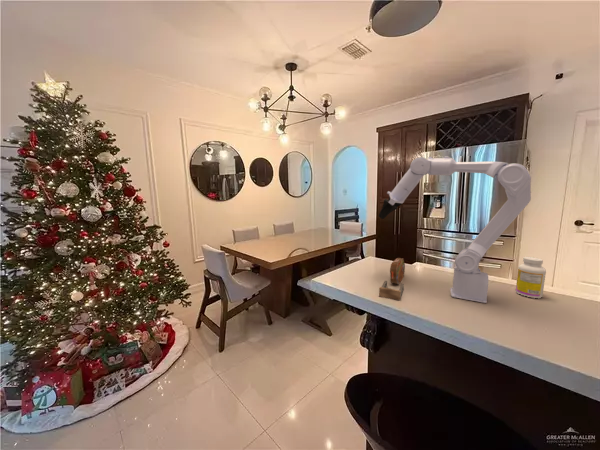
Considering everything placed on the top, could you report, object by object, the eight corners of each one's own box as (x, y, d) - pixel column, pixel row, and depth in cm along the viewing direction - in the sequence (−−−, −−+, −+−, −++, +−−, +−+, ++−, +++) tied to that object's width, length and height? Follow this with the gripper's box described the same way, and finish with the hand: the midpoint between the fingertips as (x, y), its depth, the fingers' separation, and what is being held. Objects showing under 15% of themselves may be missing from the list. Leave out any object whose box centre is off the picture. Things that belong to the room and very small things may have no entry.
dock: (403, 289, 86) (404, 281, 85) (399, 300, 77) (400, 291, 76) (384, 285, 89) (385, 278, 89) (379, 296, 80) (379, 287, 80)
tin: (396, 287, 88) (397, 265, 86) (388, 285, 89) (389, 264, 88) (405, 275, 100) (406, 256, 99) (397, 274, 102) (398, 255, 100)
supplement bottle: (522, 289, 85) (527, 255, 83) (547, 297, 78) (552, 260, 77) (510, 292, 83) (515, 256, 81) (534, 300, 76) (539, 262, 75)
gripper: (398, 180, 96) (378, 207, 103) (391, 183, 84) (369, 213, 91) (413, 190, 94) (392, 216, 101) (409, 194, 82) (385, 224, 88)
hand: (382, 215), depth 95 cm, fingers open, 7 cm apart
